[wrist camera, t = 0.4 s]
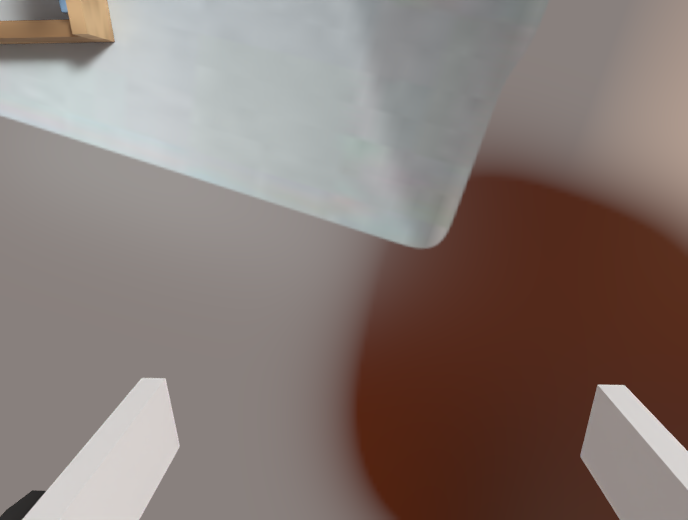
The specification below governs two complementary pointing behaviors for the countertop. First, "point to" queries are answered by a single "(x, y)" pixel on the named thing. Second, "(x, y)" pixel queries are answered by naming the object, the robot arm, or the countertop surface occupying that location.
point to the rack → (63, 25)
